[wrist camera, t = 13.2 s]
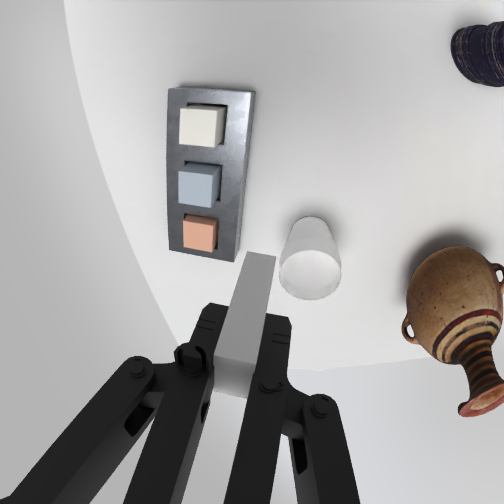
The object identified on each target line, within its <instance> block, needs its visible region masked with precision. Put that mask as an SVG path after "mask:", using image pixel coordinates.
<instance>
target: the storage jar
mask: <svg viewBox="0 0 504 504" xmlns="http://www.w3.org/2000/svg"><path fill="white" fill-rule="evenodd" d="M451 54H452V58H453V60H454V63H455V65H456V66H457V68H458V69H459V71H460V72H461V73H462V74H463V75H464V76H465V77H466V78H467V79H468V80H470V81H472V82H475V83H479V84H483V85H487V86H493V87H504V21H501V22H494V23H491V24H490V25H488V26H486V25H474V26H469V27H466V28H462V29H459V30H458V31H456V33H455V34H454V35H453V37H452V40H451Z"/></svg>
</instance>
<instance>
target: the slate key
mask: <svg viewBox="0 0 504 504" xmlns="http://www.w3.org/2000/svg"><path fill="white" fill-rule="evenodd" d="M221 170H222V165H220V164H212V163H204V162H195V161H190V162H189V163H188V164H187V165H185V166H184V167H183V168H182V169H181V170H179V180H178V193H179V203H182V204H189V205H196V206H202V207H208V208H211V207H212V205H213V204H214V202H215V201H216V199H217V198H218V196H219V195H220V184H221Z"/></svg>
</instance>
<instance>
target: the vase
mask: <svg viewBox="0 0 504 504" xmlns="http://www.w3.org/2000/svg"><path fill="white" fill-rule="evenodd" d="M498 270H501V271H502V273H503V280H502V282H499V281H498V278H497V275H496V271H498ZM503 293H504V267H503V266H502V265H500V264H498V263H490V262H489V261H488V260H487V259H486V258H485V257H484V256H483V255H481V254H480V253H478V252H477V251H475V250H473V249H470V248H468V247H463V246H452V247H447V248H444V249H441V250H438V251H437V252H435V253H433V254H431V255H430V256H428V257H427V258H426V259H425V260H424V261H423V262H422V263H421V264H420V265H419V266H418V268H417V269H416V270H415V272H414V274H413V276H412V278H411V281H410V284H409V287H408V291H407V299H406V304H407V315H406V317H405V319H404V321H403V323H402V334H403V336H404V338H405V339H406V340H407V341H409V342H410V343H413V344H419V345H421V346H422V347H423V348H424V349H425V350H426V351H427V352H428V353H429V354H430V355H431V356H433V357H434V358H435V359H437V360H438V361H440V362H442V363H445V364H453V365H457V364H461V365H462V366H463V368H464V370H465V372H466V375H467V378H468V382H469V389H470V398H469V400H468V401H467V402H463V403H461V404H460V405H459V406H458V413H459V415H461V416H463V417H474V416H478V415H482V414H485V413H487V412H489V411H491V410H493V409H495V408H496V407H498V406H499V405H501V404H502V403H504V380H503V379H502V378H501V377H500V376H499V374H498V372H497V370H496V367H495V364H494V361H493V357H492V351H491V346H492V345H493V343H494V341H495V340H496V338H497V336H498V334H499V332H500V329H501V325H502V320H503V299H502V295H503ZM410 324H411V327H412V329H413V332H414V337H413V338H412V337H410V336H409V334H408V332H407V327H408V326H409V325H410Z"/></svg>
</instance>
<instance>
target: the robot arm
mask: <svg viewBox="0 0 504 504" xmlns="http://www.w3.org/2000/svg"><path fill="white" fill-rule="evenodd" d="M275 261H276V256H270V255H265V254H259V253H254V252H248V251H247V253H246V256H245V259H244V263H243V266H242V269H241V272H240V275H239V278H238V281H237V284H236V287H235V290H234V293H233V296H232V299H231V303H230V306H224V305H220V304H215V303H209V304H208V305H207V306H206V307H205V308H204V309H202V312H201V314H200V317H199V320H198V322H197V324H196V327H195V329H194V331H193V334H192V336H191V339H190V341H189V342H188V343H183V344H181V345H180V346H178V347H177V348H176V350H175V351H174V357H175V362H172V363H166V364H152V362H151V361H150V360H149V359H148V358H145V357H142V356H134V357H130V358H128V359H127V360H126V361H124V363H123V364H122V365H121V366H120V367H119V368H118V369H117V370H116V371H115V373H114V374H113V375H112V376H111V377H110V379H108V381H107V382H106V383H105V384H104V385H103V386H102V387H101V388H100V390H99V391H98V392H97V393H96V394H95V396H94V397H93V398H92V399H91V400H90V401H89V402H88V403H87V405H86V406H85V407H84V408H83V409H82V410H81V412H80V413H79V414H78V415H77V416H76V418H75V419H74V420H73V421H72V422H71V423H70V425H69V426H68V427H67V428H66V429H65V430H64V431H63V433H62V434H61V435H60V436H59V437H58V438H57V440H56V441H55V442H54V443H53V444H52V445H51V447H50V448H49V449H48V450H47V451H46V453H45V454H44V455H43V456H42V457H41V459H40V460H39V461H38V462H37V463H36V465H35V466H34V467H33V468H32V469H31V471H30V472H29V473H28V474H27V476H26V477H25V478H24V479H23V481H22V482H21V483H20V484H19V485H18V487H17V488H16V489H15V490H14V492H13V493H12V494H11V495H10V496H8V497H6V498H3V499H1V500H0V504H89V503H90V502H91V501H92V499H93V498H94V497H95V496H96V494H97V493H98V492H99V490H100V489H101V487H102V486H103V485H104V484H105V483H106V481H107V480H108V479H109V477H110V476H111V475H112V473H113V472H114V471H115V469H116V468H117V467H118V465H119V464H120V463H121V461H122V460H123V459H124V457H125V456H126V455H127V453H128V452H129V451H130V449H131V448H132V447H133V445H134V444H135V443H136V441H137V440H138V439H139V437H140V436H141V435H142V433H143V432H144V431H145V429H146V428H147V426H148V425H149V424H150V422H151V421H152V420H153V418H154V417H155V418H154V421H153V424H152V426H151V429H150V431H149V434H148V437H147V439H146V442H145V445H144V447H143V450H142V453H141V455H140V458H139V461H138V463H137V466H136V469H135V472H134V474H133V477H132V480H131V483H130V485H129V488H128V491H127V494H126V496H125V499H124V502H123V504H181V502H182V499H183V496H184V492H185V489H186V485H187V482H188V478H189V475H190V471H191V468H192V464H193V461H194V458H195V454H196V451H197V447H198V444H199V440H200V437H201V434H202V430H203V427H204V423H205V420H206V416H207V413H208V409H209V406H210V397H211V394H212V390H213V391H215V392H219V393H223V394H228V395H233V396H237V397H242V398H247V403H246V408H245V413H244V418H243V422H242V426H241V431H240V435H239V440H238V444H237V449H236V453H235V458H234V461H233V466H232V470H231V474H230V478H229V483H228V487H227V491H226V495H225V500H224V503H223V504H270V499H271V493H272V487H273V482H274V476H275V469H276V464H277V457H278V451H279V444H280V436H281V434H283V435H286V436H288V439H289V446H290V453H291V460H292V467H293V474H294V480H295V488H296V494H297V502H298V504H360V500H359V495H358V490H357V486H356V481H355V476H354V472H353V467H352V463H351V459H350V454H349V450H348V446H347V441H346V437H345V433H344V429H343V425H342V421H341V417H340V414H339V409H338V406H337V404H336V402H335V401H334V400H333V399H332V398H331V397H329V396H327V395H325V394H315V395H311V396H308V395H306V394H304V393H302V392H300V391H298V390H296V389H295V388H294V387H292V385H291V384H290V382H289V381H288V378H287V367H288V358H289V349H290V339H291V329H292V326H291V323H290V321H289V318H288V317H285V316H280V315H274V314H269V313H266V311H267V305H268V300H269V294H270V289H271V283H272V278H273V272H274V267H275Z"/></svg>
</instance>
